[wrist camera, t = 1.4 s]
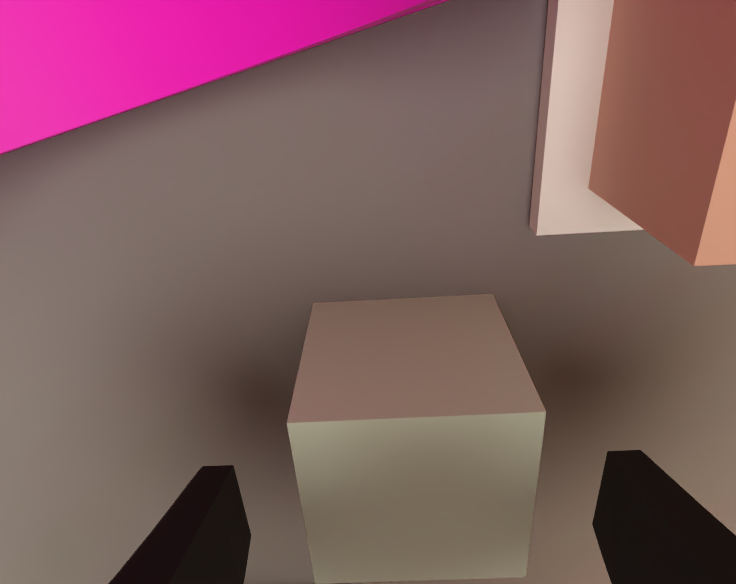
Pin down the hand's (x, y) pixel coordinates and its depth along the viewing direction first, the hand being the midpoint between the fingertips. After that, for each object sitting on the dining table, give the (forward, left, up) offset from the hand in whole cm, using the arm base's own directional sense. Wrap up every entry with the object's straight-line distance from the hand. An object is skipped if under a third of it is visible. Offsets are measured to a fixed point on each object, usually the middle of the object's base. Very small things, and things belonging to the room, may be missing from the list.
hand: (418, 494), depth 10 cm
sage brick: (0, 0, -4) cm, 4 cm away
